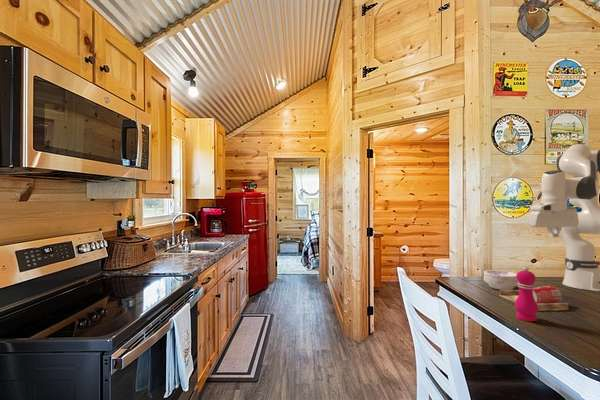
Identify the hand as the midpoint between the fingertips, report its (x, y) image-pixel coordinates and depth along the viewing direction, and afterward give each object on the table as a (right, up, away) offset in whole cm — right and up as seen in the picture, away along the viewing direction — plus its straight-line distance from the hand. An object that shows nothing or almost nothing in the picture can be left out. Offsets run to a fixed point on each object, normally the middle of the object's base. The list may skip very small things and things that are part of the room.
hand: (554, 237), depth 135 cm
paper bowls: (-10, -29, +21) cm, 37 cm away
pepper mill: (-27, -29, -20) cm, 44 cm away
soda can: (-2, -25, -2) cm, 25 cm away
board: (-11, -29, -1) cm, 31 cm away
